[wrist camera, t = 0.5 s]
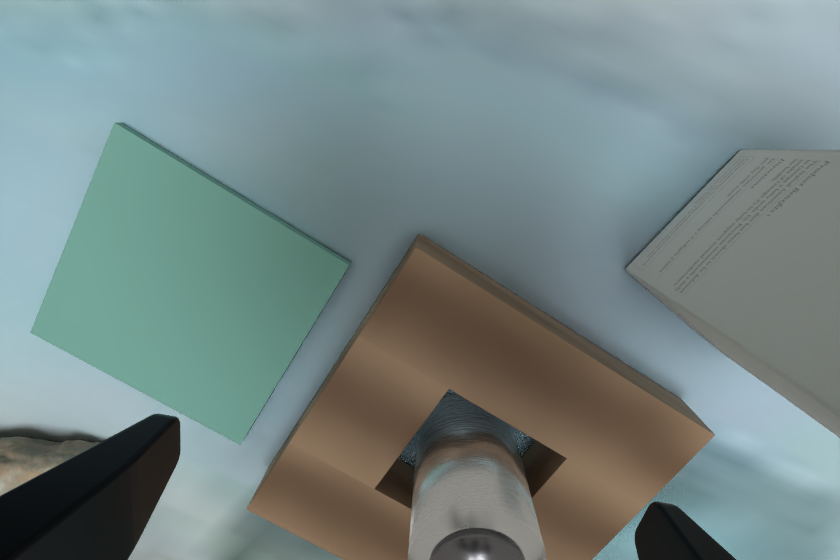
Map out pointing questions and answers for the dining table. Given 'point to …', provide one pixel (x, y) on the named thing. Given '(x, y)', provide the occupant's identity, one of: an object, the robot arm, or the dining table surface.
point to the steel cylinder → (470, 489)
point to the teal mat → (184, 286)
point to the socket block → (487, 388)
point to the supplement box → (761, 272)
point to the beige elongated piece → (33, 458)
